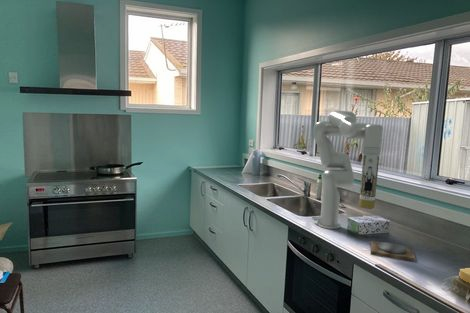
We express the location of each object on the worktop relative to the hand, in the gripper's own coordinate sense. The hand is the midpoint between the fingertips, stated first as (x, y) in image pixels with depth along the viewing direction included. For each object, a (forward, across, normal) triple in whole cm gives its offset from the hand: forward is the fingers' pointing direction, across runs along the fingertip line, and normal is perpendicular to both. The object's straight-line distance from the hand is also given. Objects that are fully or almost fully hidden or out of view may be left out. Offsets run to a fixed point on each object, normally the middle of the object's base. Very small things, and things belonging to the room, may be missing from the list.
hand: (368, 189), depth 168 cm
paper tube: (+9, 0, 0) cm, 9 cm away
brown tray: (+28, -1, -12) cm, 31 cm away
